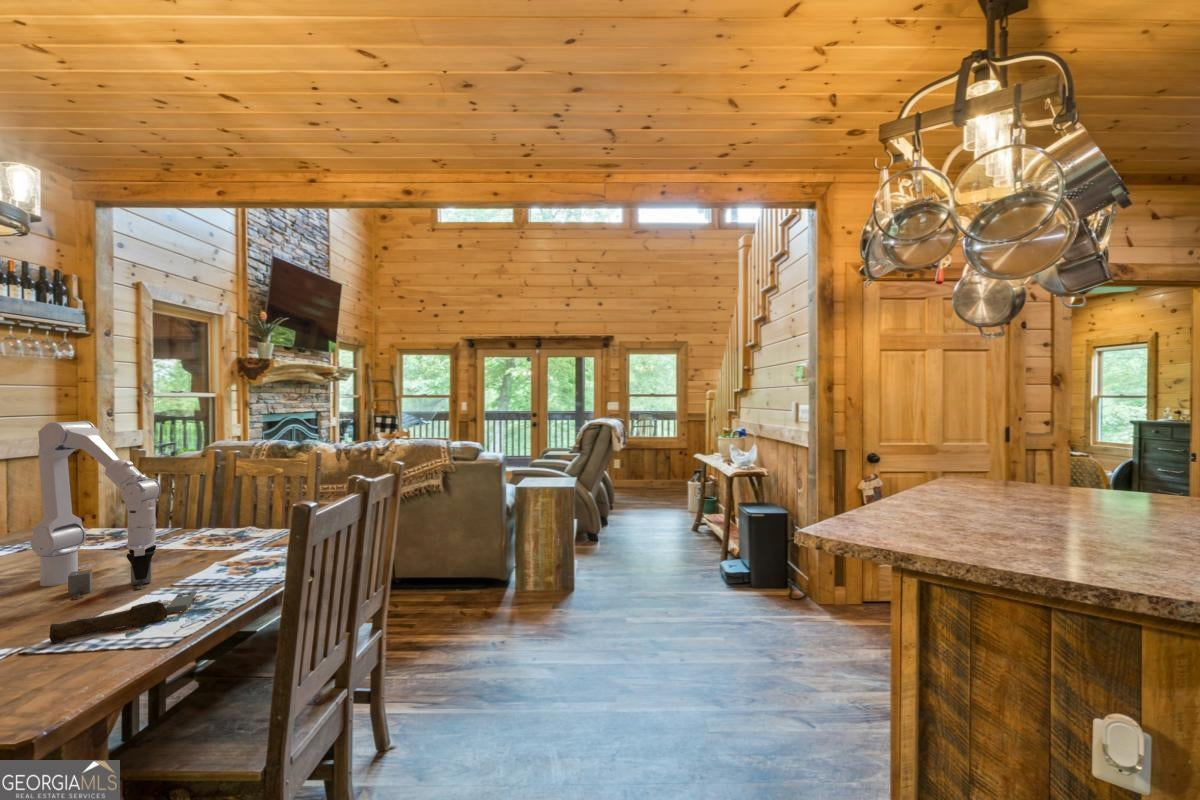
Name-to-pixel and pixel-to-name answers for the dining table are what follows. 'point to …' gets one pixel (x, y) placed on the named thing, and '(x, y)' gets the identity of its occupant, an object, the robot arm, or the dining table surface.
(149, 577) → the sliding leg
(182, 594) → the bracket
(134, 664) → the dining table surface
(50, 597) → the dining table surface
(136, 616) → the hand tool
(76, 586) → the fixed leg
